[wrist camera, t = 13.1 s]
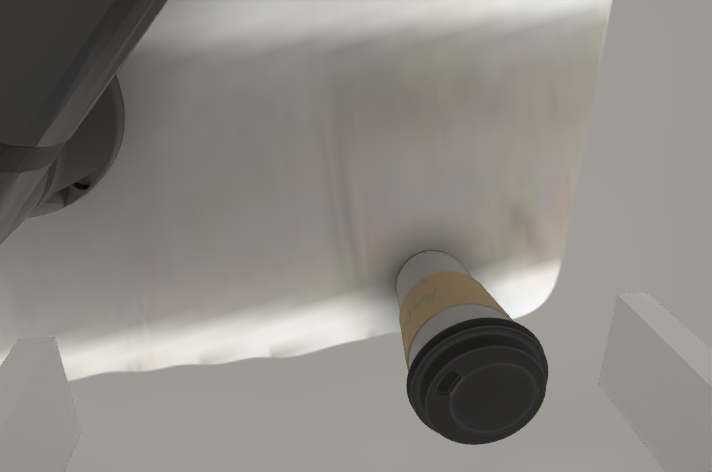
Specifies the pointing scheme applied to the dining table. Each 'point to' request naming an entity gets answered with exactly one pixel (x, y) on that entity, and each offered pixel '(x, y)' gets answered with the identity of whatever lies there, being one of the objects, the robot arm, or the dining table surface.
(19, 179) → the robot arm
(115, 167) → the dining table surface
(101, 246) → the dining table surface
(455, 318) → the coffee cup
